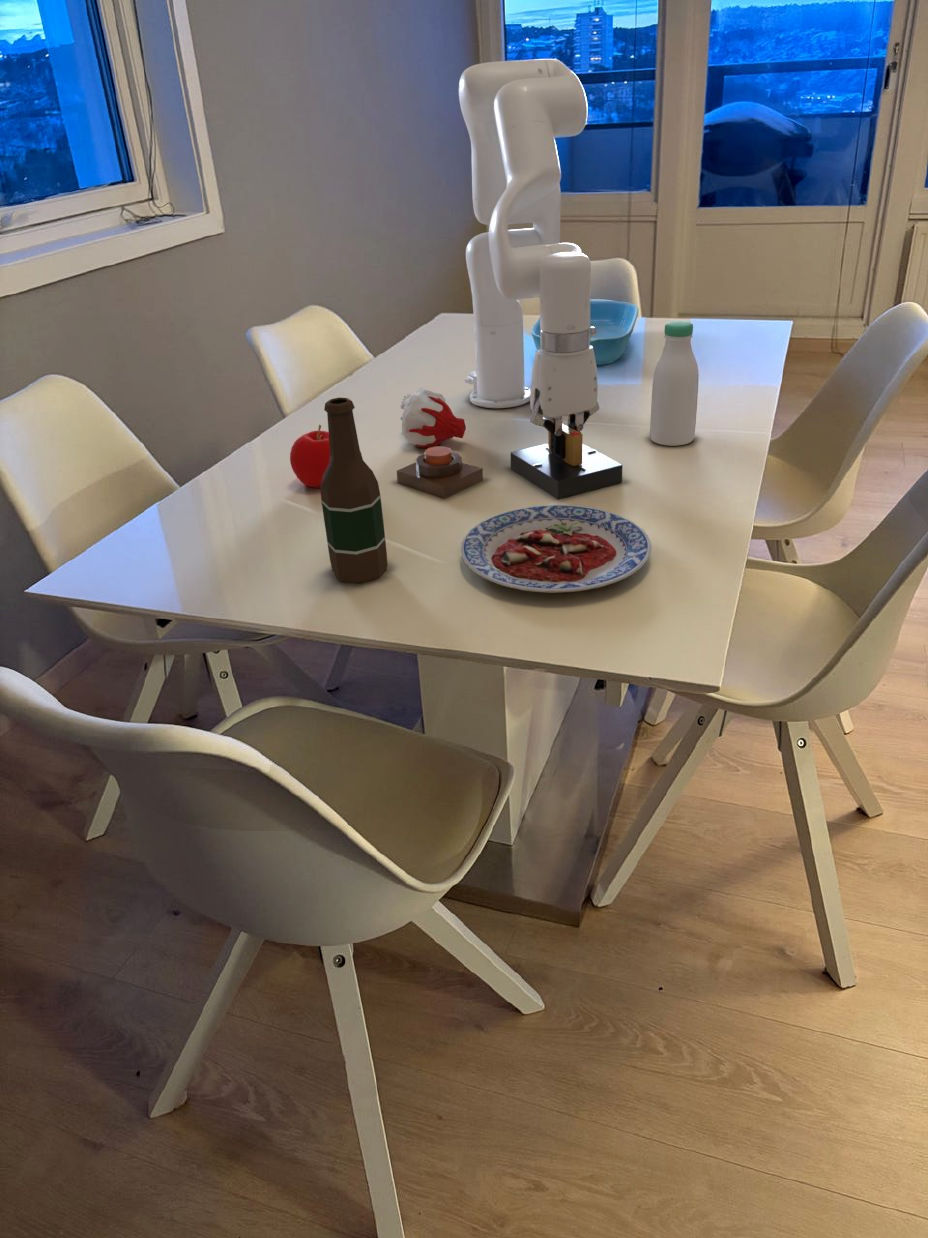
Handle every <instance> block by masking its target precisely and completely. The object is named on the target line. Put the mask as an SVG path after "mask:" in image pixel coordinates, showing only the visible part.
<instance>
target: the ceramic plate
mask: <svg viewBox="0 0 928 1238" xmlns="http://www.w3.org/2000/svg"><path fill="white" fill-rule="evenodd" d="M651 553H652V542H651V539H650V537H649V535H648V534H647V533H646V531H645V530H644V529H643V528H642V527H640V525H638V524H636V522H634V521H632V520H630V519H629V518H626V517H624V516H622V515H619V514H616V513H613V512H610V511H608V510H604V509H599V508H594V507H590V506H589V507H588V506H578V505H567V504H550V505H535V506H529V507H522V508H518V509H513V510H508V511H506V512H502V513H499V514H496V515H494V516H491V517H490V518H487V519H485V520H483V521H481V522H480V523H478V524H476V525H475V526H474V527H473V528H471V529H470V530H469V531H468V532H467V533H466V535H465V536H464V537H463V540H462V541H461V545H460V554H461V557H462V560H463V562H464V563H465V565H466V566H467V567H468V568H469V569H470V570H471V571H472V572H473V573H475V574H476V575H478V576H479V577H481V578H483V579H484V580H487V581H489V582H491V583H495V584H497V585H499V586H502V587H506V588H510V589H515V590H520V591H525V592H526V591H527V592H533V593H534V592H535V593H548V594H549V593H551V594H552V593H574V592H576V593H577V592H582V591H588V590H593V589H598V588H599V589H600V588H602V587H606V586H608V585H613V584H615V583H617V582H620V581H623V580H624V579H626V578H628V577H630V576H632V575H634V574H635V573H636V572H638V571H639V570H640V569H642V567H644V566H645V564H646V563H647V562H648V560H649V558H650V555H651Z"/></svg>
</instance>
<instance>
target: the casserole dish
mask: <svg viewBox="0 0 928 1238" xmlns="http://www.w3.org/2000/svg"><path fill="white" fill-rule="evenodd" d="M638 315H639V307H638V306H637V304H634V303H631V302H626V301H618V300H610V299H600V298H597V299H595V298H594V299H593V298H591V303H590V326H591V327H594V328H595V329H596V335H595V336H592V337H591V342H590V345H591V346H592V347H593V350H594V355H595V360H596V366H602V365H609V364H612V363H614V362H615V361H617V360H618V359H619V358H621V357H622V355H623V354H624V353H625V351H626V349H627V347H628V345H629V342H630V340H631V337H632V334H633V331H634V328H635V324H636V321H637V319H638ZM530 334H531V336H532V339H533V343H534V345H535V348H536V351H537V350H540V349H541V348H540V347H541V345H540V316H539V317H538V319H537V320H536V321H535V323H534V324H533V325H532V327H531V329H530Z"/></svg>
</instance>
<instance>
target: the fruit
mask: <svg viewBox="0 0 928 1238" xmlns="http://www.w3.org/2000/svg"><path fill="white" fill-rule="evenodd" d="M321 428H322V425H321V424H319V425H318V430H311V431H309V432H306V433H304V434H302V435H301V436H299V437H298V438H297V439H296V440H295V441H294V442H293V444H292V445H291V448H290V453H289V462H290V466H291V467H290V468H291V469H292V471H293V473H294V474H295V477H296V478H297V479H298V480H299V482H301V483H302V484H303V485H305V486H307V487H309V488H314V489H315V488H316V489H320V486H321V482H322V477H323V474H324V472H325V471H326V469H327V467H328V465H329V461H330V445H329V431H326V430H321Z"/></svg>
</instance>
